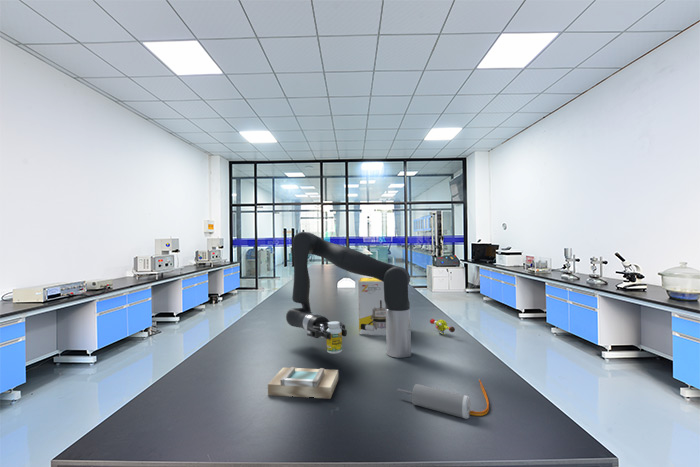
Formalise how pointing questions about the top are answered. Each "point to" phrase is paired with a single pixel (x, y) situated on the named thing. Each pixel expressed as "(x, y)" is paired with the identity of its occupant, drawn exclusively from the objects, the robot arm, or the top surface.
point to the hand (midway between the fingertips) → (337, 334)
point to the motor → (444, 401)
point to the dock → (304, 383)
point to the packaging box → (371, 307)
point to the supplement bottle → (334, 337)
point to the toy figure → (442, 326)
